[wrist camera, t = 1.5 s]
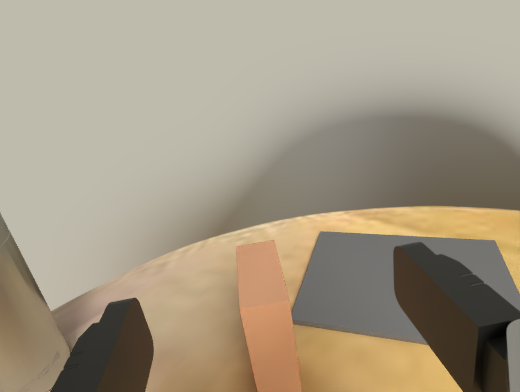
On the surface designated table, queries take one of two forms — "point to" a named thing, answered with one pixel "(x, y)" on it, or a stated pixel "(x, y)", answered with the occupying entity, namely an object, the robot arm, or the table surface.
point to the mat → (381, 282)
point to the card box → (267, 318)
